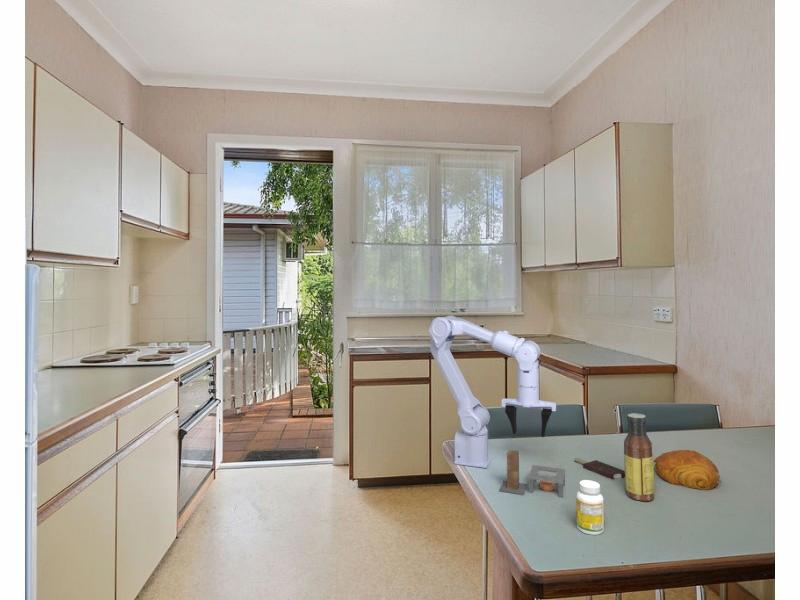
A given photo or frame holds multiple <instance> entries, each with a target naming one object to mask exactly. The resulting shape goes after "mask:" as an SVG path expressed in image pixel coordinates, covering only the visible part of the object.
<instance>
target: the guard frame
mask: <svg viewBox="0 0 800 600" xmlns="http://www.w3.org/2000/svg"><path fill="white" fill-rule="evenodd" d="M565 470H566V469H565V468H557V467H550V466H544V465H536V464H532V466H531V469H530V471H529V475H528V492H529V493H530V494H534V491H535V488H534V487H535V485H534V483H536V482H537V481H539V482H540V481H547V482H554V484H558V498H563V499H564V487H565V486H566V485H565V484H566V483H565V482H566V481H565V480H566V479H565V477H566V475H565ZM539 471H541V472H547V473H548V472H549V473H556V475H555V476H547V475H539Z"/></svg>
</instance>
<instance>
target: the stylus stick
mask: <svg viewBox="0 0 800 600" xmlns="http://www.w3.org/2000/svg"><path fill="white" fill-rule="evenodd" d="M506 481H507V489H514V490H518V488H519V483H520V452H519V450H513V449H508V450H507V452H506Z"/></svg>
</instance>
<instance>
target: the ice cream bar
mask: <svg viewBox="0 0 800 600" xmlns="http://www.w3.org/2000/svg"><path fill="white" fill-rule="evenodd" d="M574 461H575V462H577V463H579V464H582V468H583V469H585V470H588V471H590V472H593V473H595V474H597V475H600V476H602V477H604V476H605V478H607V479H609V478H610V479H609V480H612V479H614V478H615V479H621V478H623V479H625V478H624V477H625V469H624V470H623V469H621V468H618V467H615V466H613V465H611V464H608V463H605V462H603V461H599V460H597V459H595V460H591V461H587V460H584V459H582V458H579V457H575V458H574ZM615 479H614V480H615Z"/></svg>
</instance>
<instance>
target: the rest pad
mask: <svg viewBox="0 0 800 600" xmlns="http://www.w3.org/2000/svg"><path fill="white" fill-rule="evenodd" d="M527 487H528V483H524V482H519V488H518V490H514V489H507V480H505V479H504V480H503V481H502V483H501V485H500V487H499V488H498V491H499V492H501V493H506V492H507V493H509V494H514V495H520V496H524V495H525V493H526V489H527Z"/></svg>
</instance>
